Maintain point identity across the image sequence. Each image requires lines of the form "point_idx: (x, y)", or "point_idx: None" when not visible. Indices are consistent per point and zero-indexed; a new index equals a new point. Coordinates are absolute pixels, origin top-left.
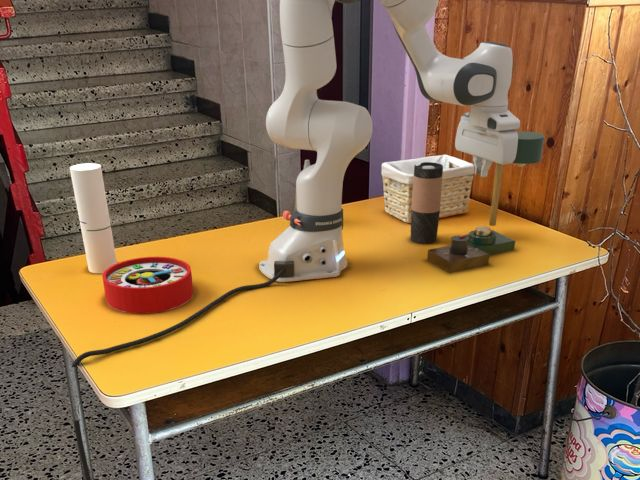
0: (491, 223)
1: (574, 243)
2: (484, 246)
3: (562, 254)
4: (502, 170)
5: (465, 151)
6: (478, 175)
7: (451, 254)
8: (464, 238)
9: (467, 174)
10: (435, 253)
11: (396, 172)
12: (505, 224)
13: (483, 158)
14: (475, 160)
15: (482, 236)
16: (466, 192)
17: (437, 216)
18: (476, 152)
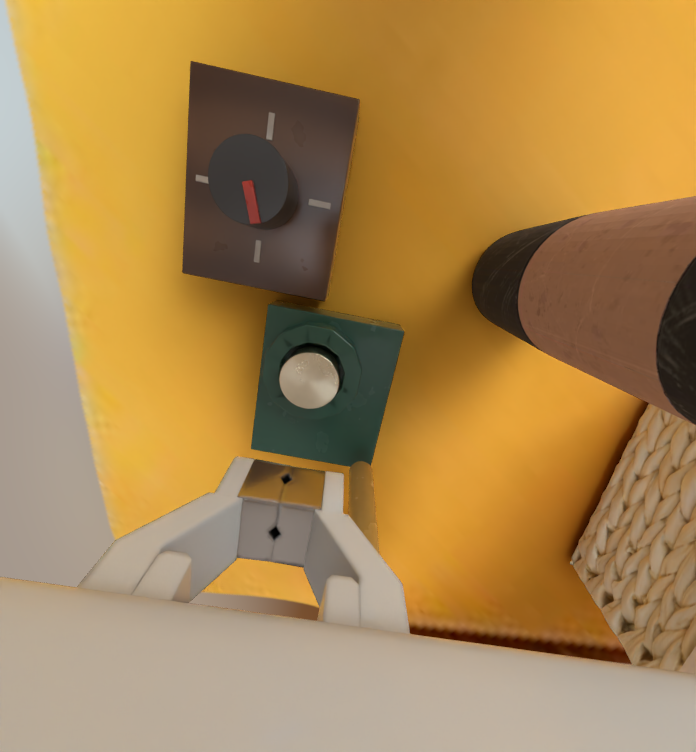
0: (356, 466)
1: None
2: (265, 330)
3: (165, 502)
4: None
5: (618, 683)
6: (292, 466)
7: None
8: (233, 196)
9: None
10: (304, 89)
11: None
12: (428, 568)
13: (72, 588)
14: (346, 577)
15: (291, 354)
16: (616, 612)
17: (508, 307)
18: (265, 689)
